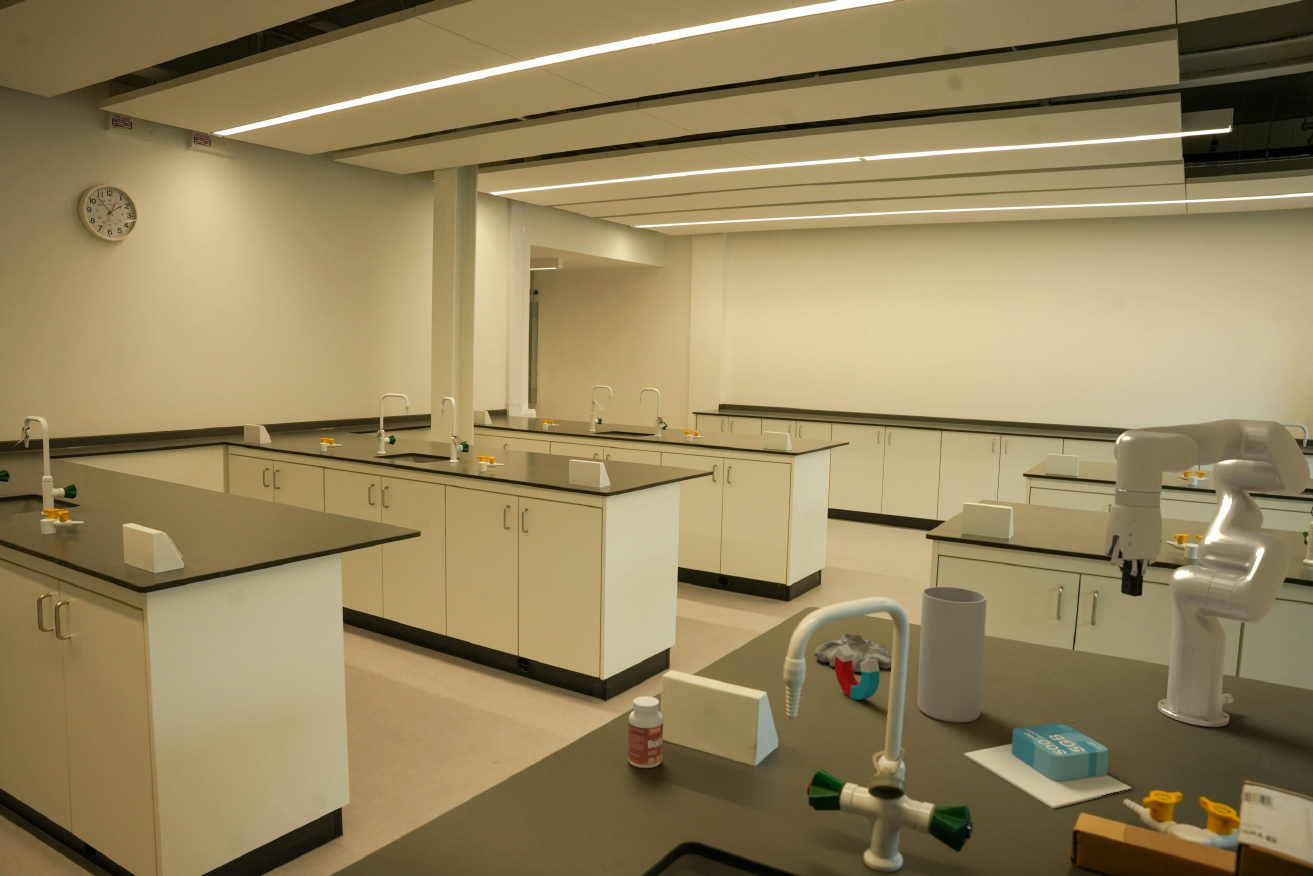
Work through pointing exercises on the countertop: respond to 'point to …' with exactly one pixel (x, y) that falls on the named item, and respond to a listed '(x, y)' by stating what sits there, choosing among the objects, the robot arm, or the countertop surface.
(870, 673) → the magnet
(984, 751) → the mat
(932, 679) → the cylinder vase
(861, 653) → the fossil
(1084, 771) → the data package
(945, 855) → the countertop surface
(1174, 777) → the countertop surface
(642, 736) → the pill bottle
